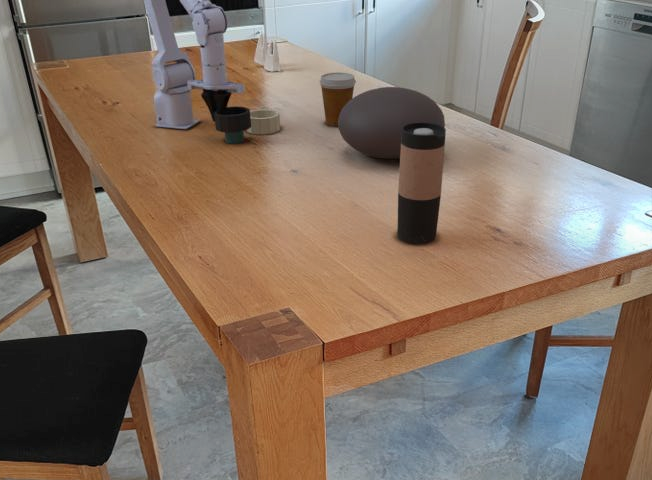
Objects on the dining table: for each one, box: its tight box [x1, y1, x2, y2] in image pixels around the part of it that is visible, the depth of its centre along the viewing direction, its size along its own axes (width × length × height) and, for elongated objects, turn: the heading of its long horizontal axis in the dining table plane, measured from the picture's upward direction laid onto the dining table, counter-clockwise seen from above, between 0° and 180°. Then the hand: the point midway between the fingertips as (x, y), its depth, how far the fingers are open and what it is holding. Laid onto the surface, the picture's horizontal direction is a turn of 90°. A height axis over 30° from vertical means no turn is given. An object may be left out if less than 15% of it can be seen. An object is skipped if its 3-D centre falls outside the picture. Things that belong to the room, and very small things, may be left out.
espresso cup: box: [224, 114, 245, 145], centre depth 180 cm, size 5×5×6 cm
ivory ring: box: [246, 108, 281, 135], centre depth 188 cm, size 9×9×4 cm
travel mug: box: [397, 122, 447, 246], centre depth 128 cm, size 8×8×20 cm
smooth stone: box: [337, 86, 446, 160], centre depth 168 cm, size 25×25×15 cm
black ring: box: [214, 105, 251, 134], centre depth 179 cm, size 9×9×4 cm
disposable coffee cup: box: [319, 72, 357, 127], centre depth 190 cm, size 10×10×12 cm
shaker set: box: [253, 32, 282, 72], centre depth 243 cm, size 12×4×11 cm, turn 34°
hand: (218, 120), depth 181 cm, fingers closed on black ring
